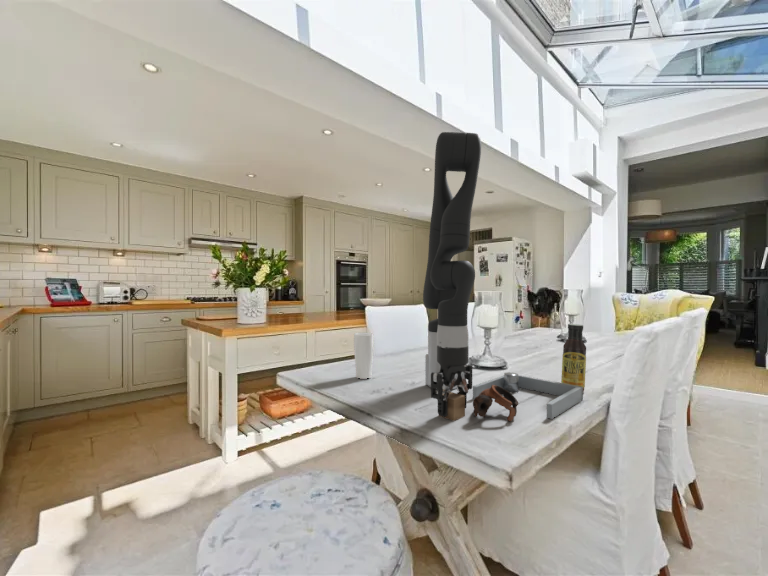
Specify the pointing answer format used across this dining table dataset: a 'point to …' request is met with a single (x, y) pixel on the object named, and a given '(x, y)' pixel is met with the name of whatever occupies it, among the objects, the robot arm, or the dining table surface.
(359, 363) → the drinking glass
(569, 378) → the sauce bottle
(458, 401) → the block
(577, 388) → the corral
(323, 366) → the dining table surface
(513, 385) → the peg
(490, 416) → the dining table surface
